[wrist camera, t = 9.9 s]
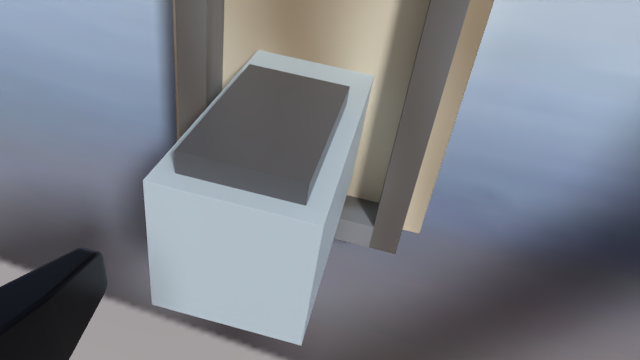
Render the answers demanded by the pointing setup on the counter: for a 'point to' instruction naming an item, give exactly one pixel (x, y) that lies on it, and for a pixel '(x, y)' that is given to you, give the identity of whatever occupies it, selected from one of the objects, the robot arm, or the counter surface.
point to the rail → (357, 55)
